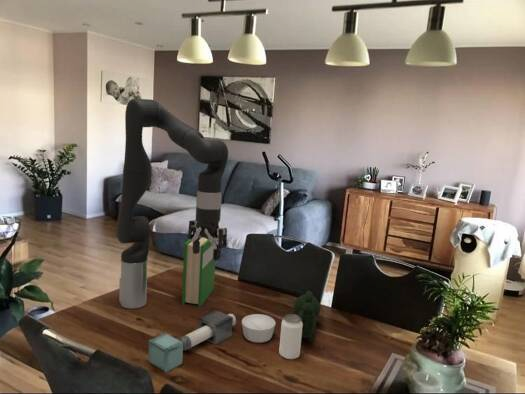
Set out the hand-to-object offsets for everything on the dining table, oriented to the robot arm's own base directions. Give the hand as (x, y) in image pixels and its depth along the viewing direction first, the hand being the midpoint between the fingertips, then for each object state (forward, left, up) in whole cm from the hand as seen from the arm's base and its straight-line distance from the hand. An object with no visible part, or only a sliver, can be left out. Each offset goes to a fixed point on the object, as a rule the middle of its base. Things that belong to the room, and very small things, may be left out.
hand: (206, 256), depth 130 cm
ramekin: (+12, +14, -28) cm, 34 cm away
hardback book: (-24, +22, -28) cm, 43 cm away
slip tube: (+2, +1, -28) cm, 28 cm away
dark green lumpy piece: (+22, +28, -28) cm, 45 cm away
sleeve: (+2, +4, -28) cm, 28 cm away
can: (+26, +12, -28) cm, 40 cm away
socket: (+2, -17, -28) cm, 32 cm away
